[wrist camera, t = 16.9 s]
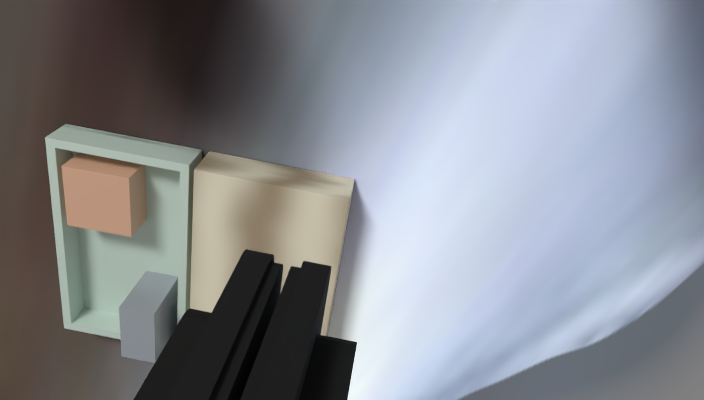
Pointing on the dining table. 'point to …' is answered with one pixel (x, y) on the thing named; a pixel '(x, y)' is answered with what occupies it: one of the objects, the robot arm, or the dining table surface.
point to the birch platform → (264, 221)
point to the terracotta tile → (104, 194)
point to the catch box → (117, 250)
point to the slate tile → (148, 316)
